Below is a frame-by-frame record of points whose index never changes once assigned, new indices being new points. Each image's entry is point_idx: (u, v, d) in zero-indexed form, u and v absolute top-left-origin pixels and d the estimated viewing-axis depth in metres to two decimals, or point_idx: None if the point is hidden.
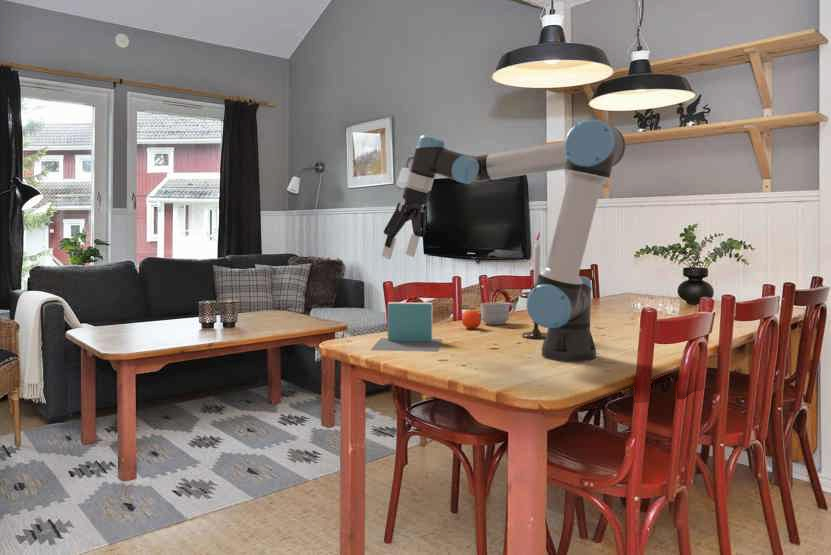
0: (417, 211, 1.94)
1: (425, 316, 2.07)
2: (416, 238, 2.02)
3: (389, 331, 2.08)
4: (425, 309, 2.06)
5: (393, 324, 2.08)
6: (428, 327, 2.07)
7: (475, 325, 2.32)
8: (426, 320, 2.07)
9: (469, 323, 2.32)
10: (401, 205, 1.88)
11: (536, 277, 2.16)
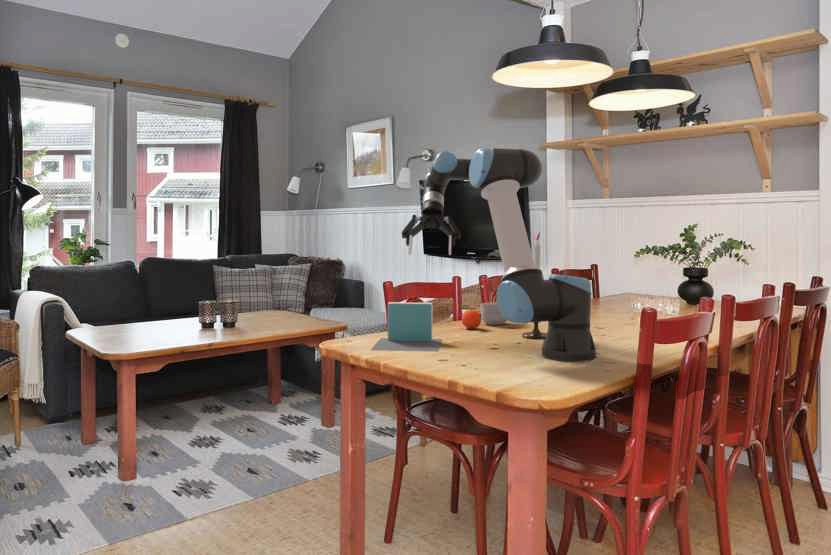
0: (434, 217, 2.28)
1: (425, 316, 2.07)
2: (449, 237, 2.22)
3: (389, 331, 2.08)
4: (425, 309, 2.06)
5: (393, 324, 2.08)
6: (428, 327, 2.07)
7: (475, 325, 2.32)
8: (426, 320, 2.07)
9: (469, 323, 2.32)
10: None
11: None
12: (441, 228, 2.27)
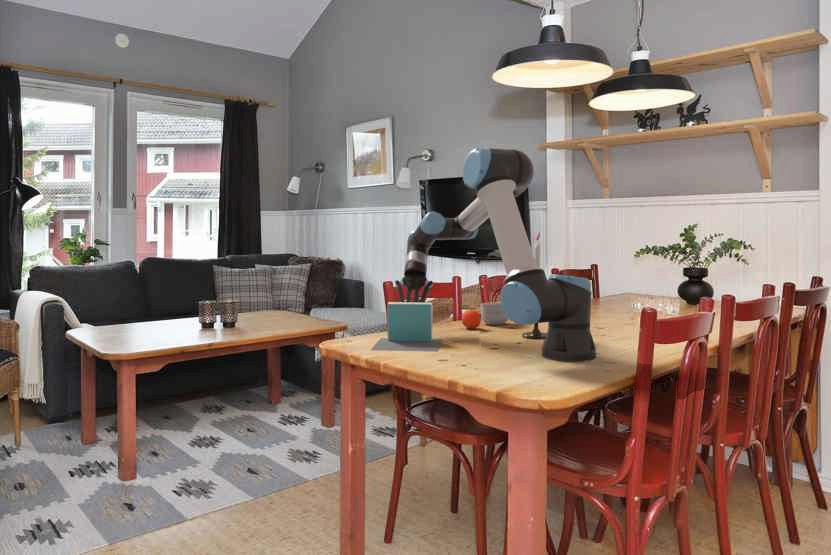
0: None
1: (425, 316, 2.06)
2: None
3: (389, 331, 2.08)
4: (425, 309, 2.06)
5: (393, 324, 2.08)
6: (428, 327, 2.07)
7: (475, 325, 2.32)
8: (426, 320, 2.06)
9: (468, 323, 2.32)
10: None
11: None
12: None
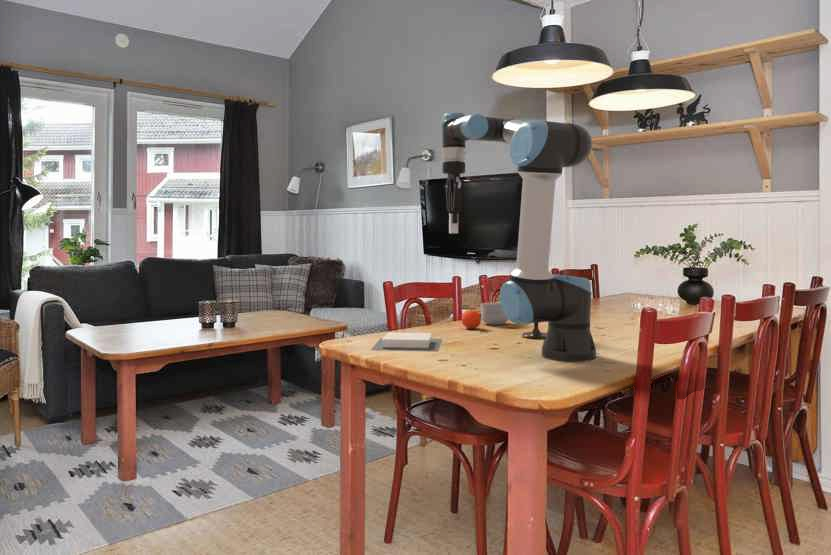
0: None
1: None
2: None
3: None
4: None
5: None
6: None
7: (475, 325, 2.32)
8: None
9: (468, 323, 2.32)
10: None
11: None
12: None
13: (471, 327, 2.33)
